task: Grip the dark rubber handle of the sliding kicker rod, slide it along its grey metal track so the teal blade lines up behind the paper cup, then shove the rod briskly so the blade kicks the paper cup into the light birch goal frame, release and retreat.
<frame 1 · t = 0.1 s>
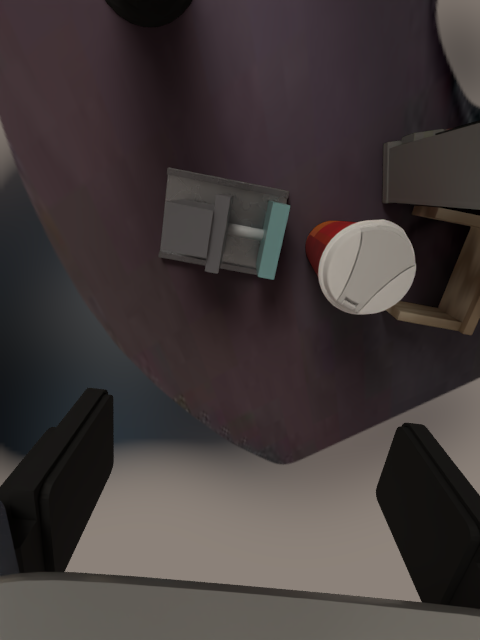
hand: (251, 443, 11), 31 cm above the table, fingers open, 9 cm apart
goal: (429, 264, 40), on the table
cassette tape recorder: (447, 164, 37), on the table
paper cup: (329, 244, 40), on the table
track: (222, 224, 39), on the table
kicker: (227, 231, 34), point 6 cm above the table, slide at 0.0 cm
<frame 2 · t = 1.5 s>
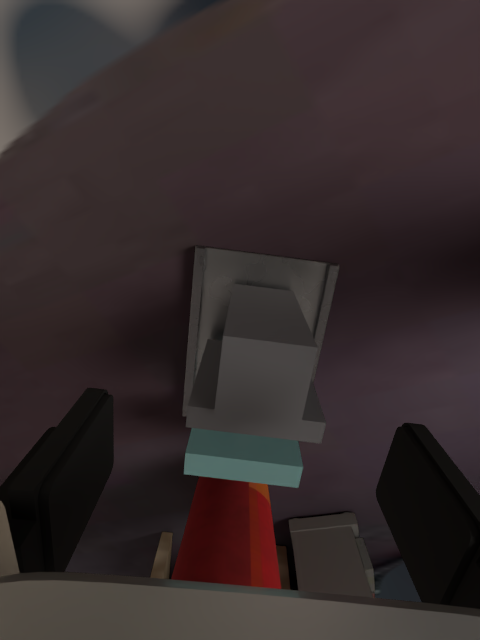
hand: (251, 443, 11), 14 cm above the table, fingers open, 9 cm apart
goal: (219, 567, 34), on the table
cassette tape recorder: (328, 563, 34), on the table
paper cup: (234, 471, 30), on the table
track: (253, 341, 26), on the table
kicker: (252, 392, 20), point 6 cm above the table, slide at 0.0 cm
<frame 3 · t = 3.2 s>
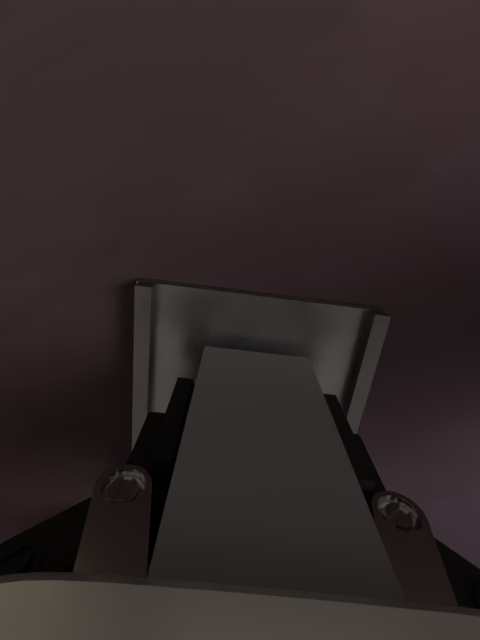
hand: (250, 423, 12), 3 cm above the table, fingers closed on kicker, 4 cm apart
track: (242, 428, 16), on the table
kicker: (238, 568, 11), point 6 cm above the table, slide at 0.0 cm, touching gripper
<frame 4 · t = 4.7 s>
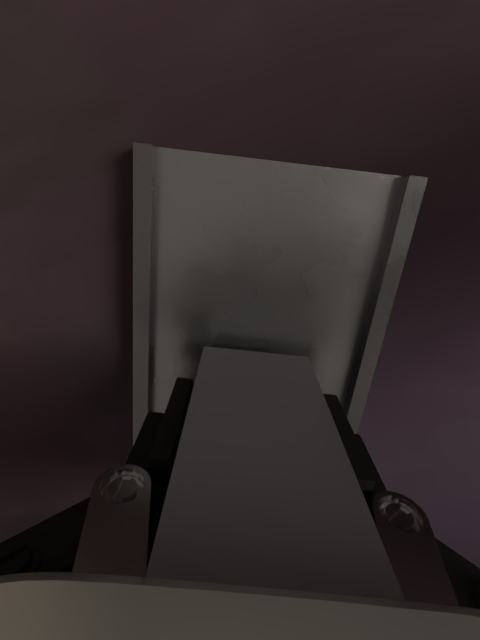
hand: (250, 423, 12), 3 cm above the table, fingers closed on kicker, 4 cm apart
track: (255, 335, 14), on the table
kicker: (240, 568, 11), point 6 cm above the table, slide at 4.7 cm, touching gripper, paper cup
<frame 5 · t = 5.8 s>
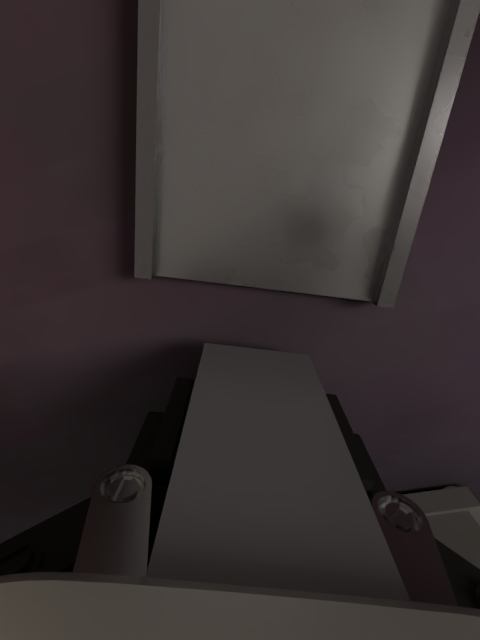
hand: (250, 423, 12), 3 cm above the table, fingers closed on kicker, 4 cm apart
cassette tape recorder: (406, 578, 20), on the table
track: (292, 91, 11), on the table
kicker: (239, 565, 11), point 6 cm above the table, slide at 13.2 cm, touching gripper, paper cup
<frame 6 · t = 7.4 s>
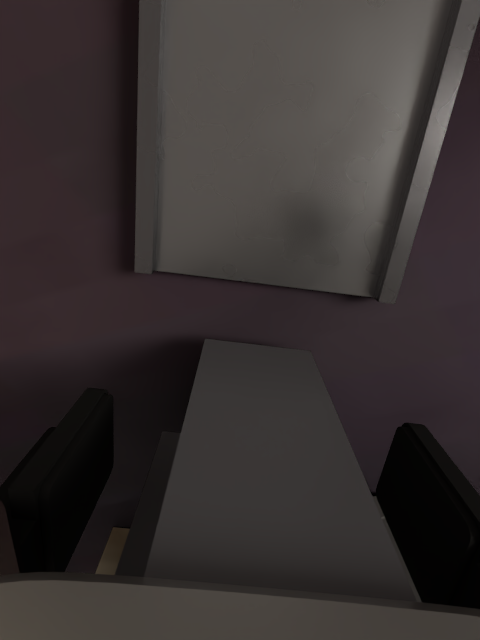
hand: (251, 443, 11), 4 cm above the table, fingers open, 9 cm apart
goal: (217, 588, 20), on the table
cassette tape recorder: (406, 576, 19), on the table
track: (294, 85, 11), on the table
kicker: (239, 561, 11), point 6 cm above the table, slide at 13.2 cm
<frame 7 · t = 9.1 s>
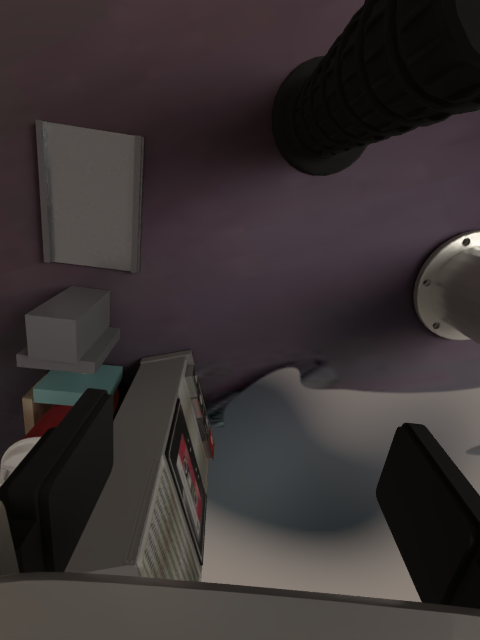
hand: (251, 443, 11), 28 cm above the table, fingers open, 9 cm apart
goal: (95, 407, 43), on the table
cassette tape recorder: (181, 400, 44), on the table
paper cup: (97, 392, 43), on the table
track: (94, 202, 35), on the table
kicker: (74, 351, 34), point 6 cm above the table, slide at 13.2 cm
handle grip: (323, 119, 33), on the table
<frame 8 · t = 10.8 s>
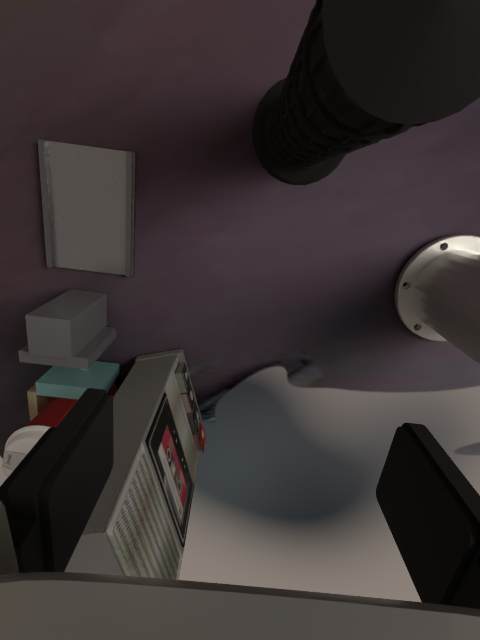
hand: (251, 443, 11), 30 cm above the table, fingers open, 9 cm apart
goal: (96, 401, 46), on the table
cassette tape recorder: (175, 396, 46), on the table
paper cup: (97, 388, 46), on the table
track: (91, 212, 38), on the table
kicker: (73, 349, 37), point 6 cm above the table, slide at 13.2 cm
handle grip: (301, 132, 35), on the table
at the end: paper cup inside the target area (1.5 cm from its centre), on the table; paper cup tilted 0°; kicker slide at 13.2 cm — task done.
